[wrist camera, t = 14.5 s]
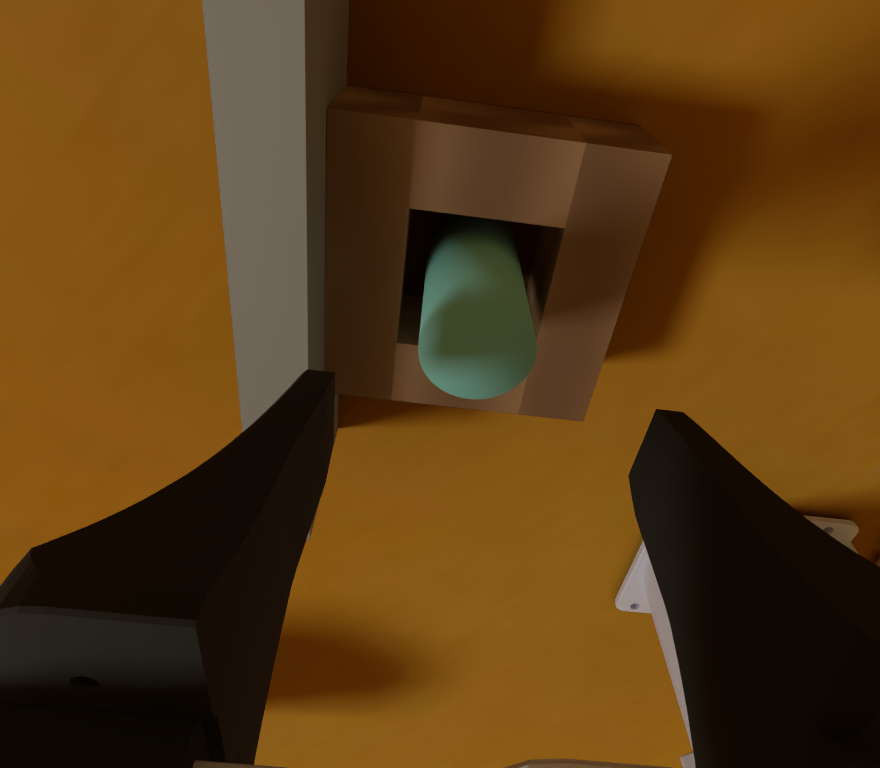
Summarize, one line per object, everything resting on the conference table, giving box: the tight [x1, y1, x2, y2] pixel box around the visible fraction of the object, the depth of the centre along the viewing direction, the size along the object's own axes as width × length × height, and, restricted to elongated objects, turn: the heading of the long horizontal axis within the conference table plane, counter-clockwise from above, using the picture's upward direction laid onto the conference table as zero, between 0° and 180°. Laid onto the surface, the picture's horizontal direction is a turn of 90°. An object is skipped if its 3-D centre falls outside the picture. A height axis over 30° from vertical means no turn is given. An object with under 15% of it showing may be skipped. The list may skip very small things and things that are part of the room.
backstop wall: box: [202, 0, 349, 539], centre depth 17 cm, size 2×20×6 cm, turn 173°
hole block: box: [324, 85, 672, 422], centre depth 19 cm, size 9×9×4 cm
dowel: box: [418, 213, 537, 399], centre depth 18 cm, size 3×3×7 cm
